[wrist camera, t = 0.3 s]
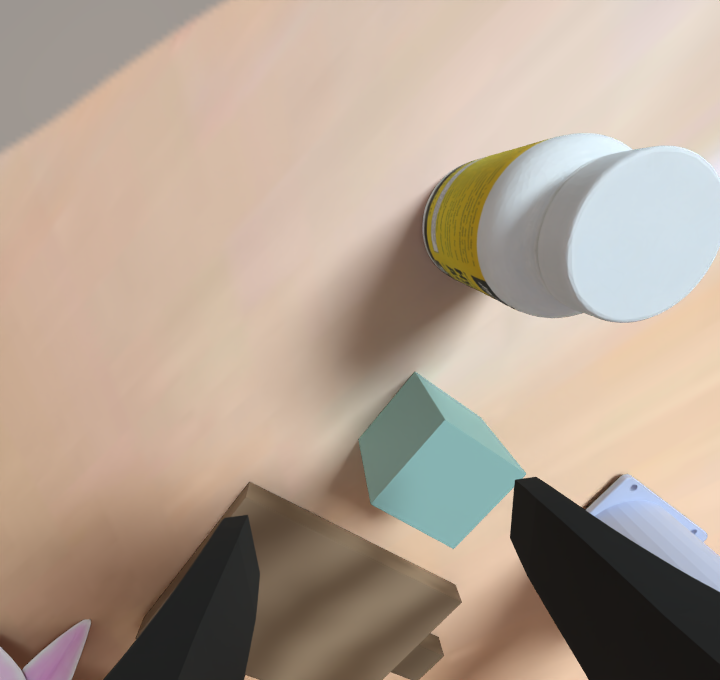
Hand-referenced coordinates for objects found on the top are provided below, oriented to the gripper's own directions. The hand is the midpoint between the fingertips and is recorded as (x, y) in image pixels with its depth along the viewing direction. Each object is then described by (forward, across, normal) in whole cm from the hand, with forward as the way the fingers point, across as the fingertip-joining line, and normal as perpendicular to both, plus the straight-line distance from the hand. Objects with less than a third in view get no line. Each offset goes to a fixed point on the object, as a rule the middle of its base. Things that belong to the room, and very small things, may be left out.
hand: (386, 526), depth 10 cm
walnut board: (+10, +3, +16) cm, 20 cm away
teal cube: (+10, -4, +4) cm, 11 cm away
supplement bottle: (+10, -6, -7) cm, 14 cm away
